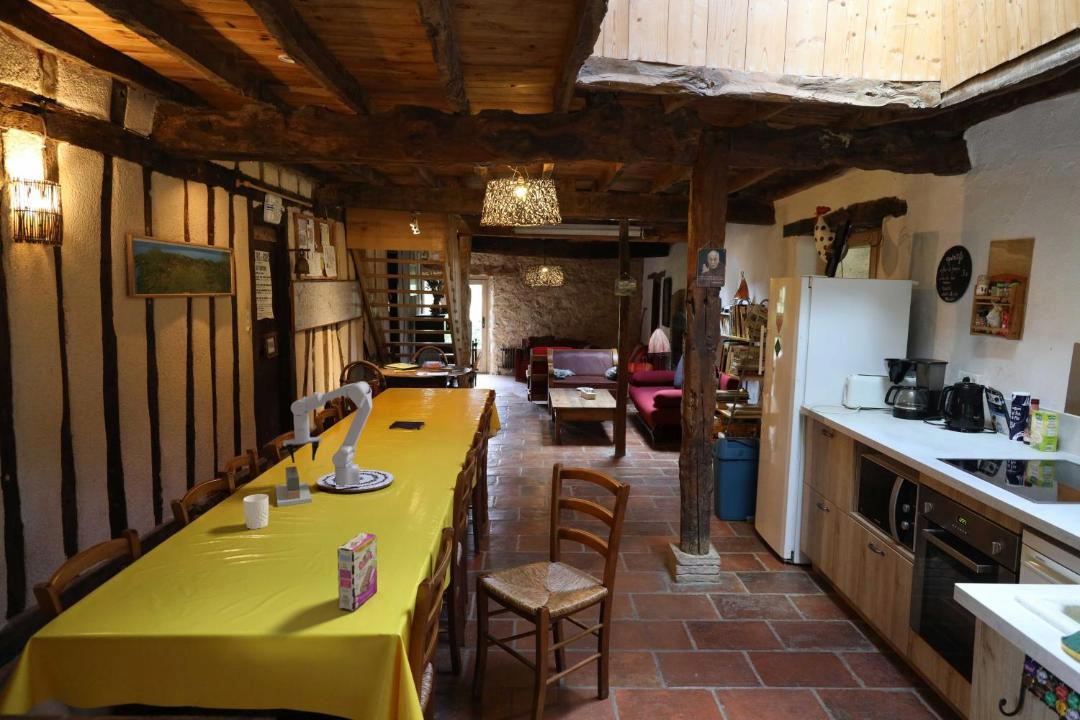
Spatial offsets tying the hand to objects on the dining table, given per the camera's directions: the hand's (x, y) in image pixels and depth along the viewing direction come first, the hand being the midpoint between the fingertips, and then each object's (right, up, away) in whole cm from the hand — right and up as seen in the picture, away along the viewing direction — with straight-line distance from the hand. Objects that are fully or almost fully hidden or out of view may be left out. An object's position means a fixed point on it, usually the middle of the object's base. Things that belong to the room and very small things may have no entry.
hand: (303, 461), depth 257 cm
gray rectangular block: (0, -7, -11) cm, 14 cm away
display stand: (0, -12, -11) cm, 16 cm away
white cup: (0, -16, -41) cm, 44 cm away
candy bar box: (+50, -22, -92) cm, 107 cm away
